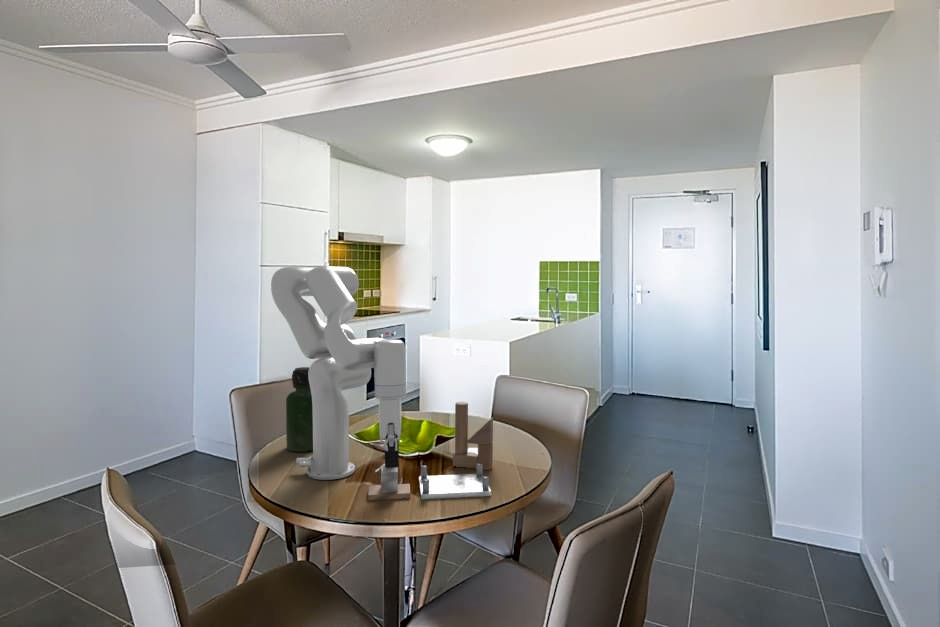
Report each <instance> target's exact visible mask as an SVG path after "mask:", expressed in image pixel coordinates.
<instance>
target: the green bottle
mask: <svg viewBox="0 0 940 627" xmlns="http://www.w3.org/2000/svg"><path fill="white" fill-rule="evenodd" d="M309 368H310V366H308V367H307V366H304V367H295V368H294V370H292V374H291V381H292V382H291V383H292V387H293V388H294V389H295V390H293V391H291V392H290V393H289V394H288V395H287V396H286V399H285V408H286V409H285V410H286V412H285V414H286V415H285V416H286V419H285V420H286V424H285V426H286V449H287V450H288V451H290V452H294V453H306V452H313V410H312V395H311V389H310V384H309V379H308V371H309Z"/></svg>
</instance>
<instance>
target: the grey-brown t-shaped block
mask: <svg viewBox="0 0 940 627" xmlns="http://www.w3.org/2000/svg"><path fill="white" fill-rule="evenodd" d="M380 468H381V469H380V470H381V471H380V484H377V485H376V484H375V485H369V486H368V493H367V501H379V500H378V499H385V500H399V499H401V500H402V499H403V498H406V499H411V484H410V483H399V470H398V469H399V467H396V468H386V467H385V466H381V467H380ZM398 483H399V484H398ZM375 499H377V500H375Z"/></svg>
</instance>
